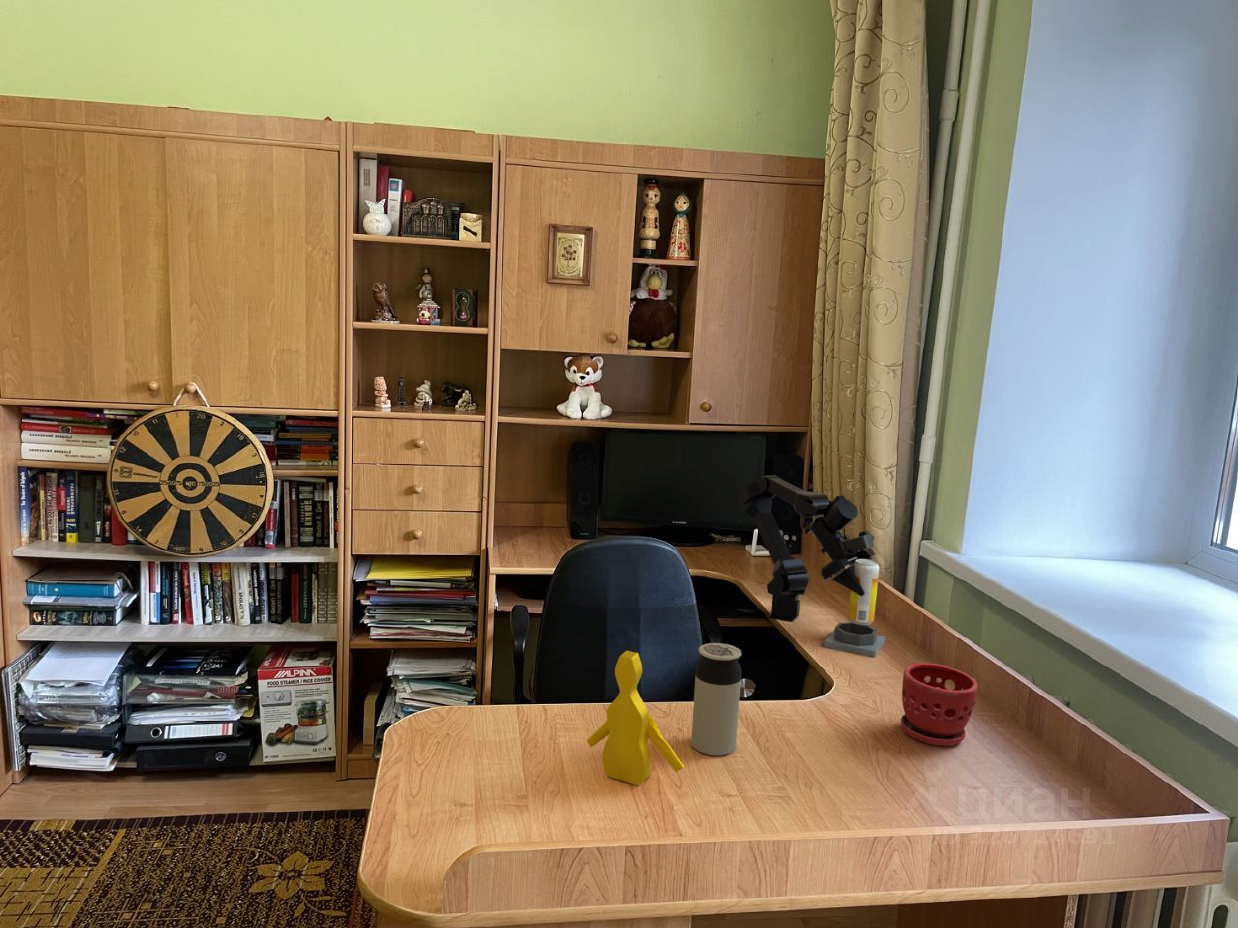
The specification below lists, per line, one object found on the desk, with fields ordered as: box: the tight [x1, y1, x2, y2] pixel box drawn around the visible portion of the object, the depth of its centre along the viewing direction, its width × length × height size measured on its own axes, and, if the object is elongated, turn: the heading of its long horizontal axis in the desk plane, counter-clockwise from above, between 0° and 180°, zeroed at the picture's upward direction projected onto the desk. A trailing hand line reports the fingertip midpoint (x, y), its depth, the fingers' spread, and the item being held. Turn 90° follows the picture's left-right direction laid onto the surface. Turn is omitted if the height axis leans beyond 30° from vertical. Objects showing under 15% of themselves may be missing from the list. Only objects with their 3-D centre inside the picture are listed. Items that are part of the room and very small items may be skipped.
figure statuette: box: [586, 650, 685, 787], centre depth 143 cm, size 18×8×22 cm, turn 63°
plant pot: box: [900, 662, 979, 747], centre depth 165 cm, size 13×13×12 cm
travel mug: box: [690, 642, 742, 757], centre depth 155 cm, size 8×8×18 cm
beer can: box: [847, 559, 880, 626], centre depth 212 cm, size 6×6×15 cm
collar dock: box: [823, 621, 886, 658], centre depth 213 cm, size 12×12×4 cm
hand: (869, 592), depth 211 cm, fingers closed on beer can, 6 cm apart
